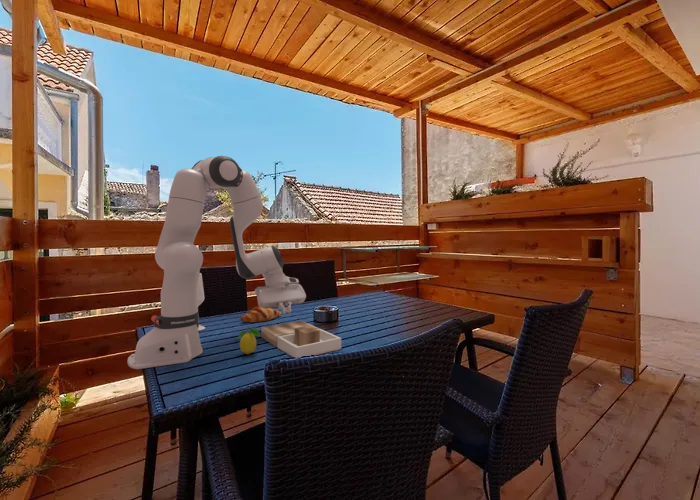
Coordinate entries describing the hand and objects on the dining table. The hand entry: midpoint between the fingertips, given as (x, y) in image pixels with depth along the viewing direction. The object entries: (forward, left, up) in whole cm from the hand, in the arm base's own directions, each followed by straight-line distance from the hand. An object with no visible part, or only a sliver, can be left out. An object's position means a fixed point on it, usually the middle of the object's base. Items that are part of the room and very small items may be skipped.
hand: (287, 312), depth 140 cm
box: (0, -17, -10) cm, 20 cm away
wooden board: (0, -1, -10) cm, 10 cm away
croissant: (+2, +32, -10) cm, 33 cm away
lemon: (-20, -10, -10) cm, 25 cm away
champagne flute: (-27, +34, -10) cm, 44 cm away
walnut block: (0, -11, -6) cm, 13 cm away
